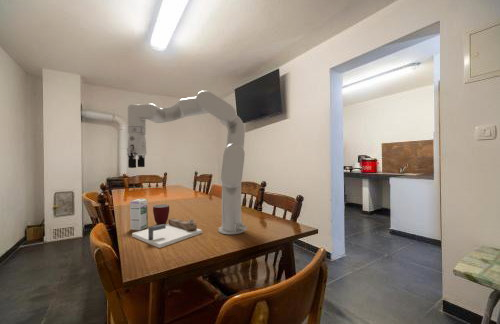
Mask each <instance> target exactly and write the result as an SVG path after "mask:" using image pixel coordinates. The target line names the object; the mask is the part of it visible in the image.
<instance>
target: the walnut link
mask: <svg viewBox="0 0 500 324" xmlns="http://www.w3.org/2000/svg"><path fill="white" fill-rule="evenodd" d="M168 223H169V224H170V225H173V226H177V227H180V228H183V229H186V230H187V231H194V230H196V229H198V226H197V223H196V222H194V219H193V218H190V219H189V221H186V220H182V219H178V218H170V219H169V218H168Z"/></svg>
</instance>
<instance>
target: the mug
mask: <svg viewBox="0 0 500 324" xmlns="http://www.w3.org/2000/svg"><path fill="white" fill-rule="evenodd" d="M152 213H153V218H154V222H155V224H156V225H161V224H167V222H168V221H169V215H170V205H169V204H164V203H163V204H156V205H153V207H152Z"/></svg>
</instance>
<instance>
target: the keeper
mask: <svg viewBox="0 0 500 324" xmlns="http://www.w3.org/2000/svg"><path fill="white" fill-rule="evenodd" d="M165 228H166V225H165V224H161V225H157V224H156V225H150V226H148V227H147V229H148V240H153V231H155V230H160V229H165Z"/></svg>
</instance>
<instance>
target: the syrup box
mask: <svg viewBox="0 0 500 324" xmlns="http://www.w3.org/2000/svg"><path fill="white" fill-rule="evenodd" d="M129 217H130V220H129V223H130V230H132V231H142V230H145V228H146V229H147V228H148V227H149V226H148V223H149V222H148V221H149V220H148V217H149V216H148V199H146V198H137V199H134V200H130V201H129Z"/></svg>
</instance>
